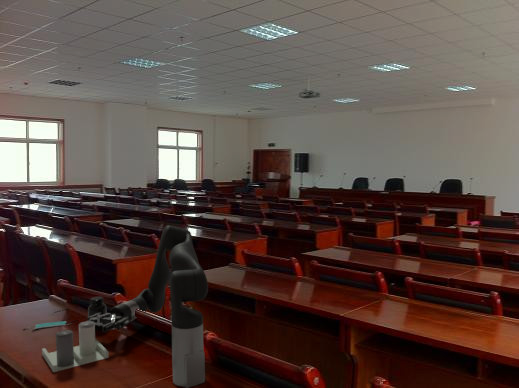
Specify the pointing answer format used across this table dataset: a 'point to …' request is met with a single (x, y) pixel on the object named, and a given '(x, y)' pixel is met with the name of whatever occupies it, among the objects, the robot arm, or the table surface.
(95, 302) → the supplement bottle
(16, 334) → the table surface
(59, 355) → the grey cylinder
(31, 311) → the table surface
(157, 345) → the table surface
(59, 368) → the divided tray
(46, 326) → the surgical mask
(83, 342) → the white cylinder
